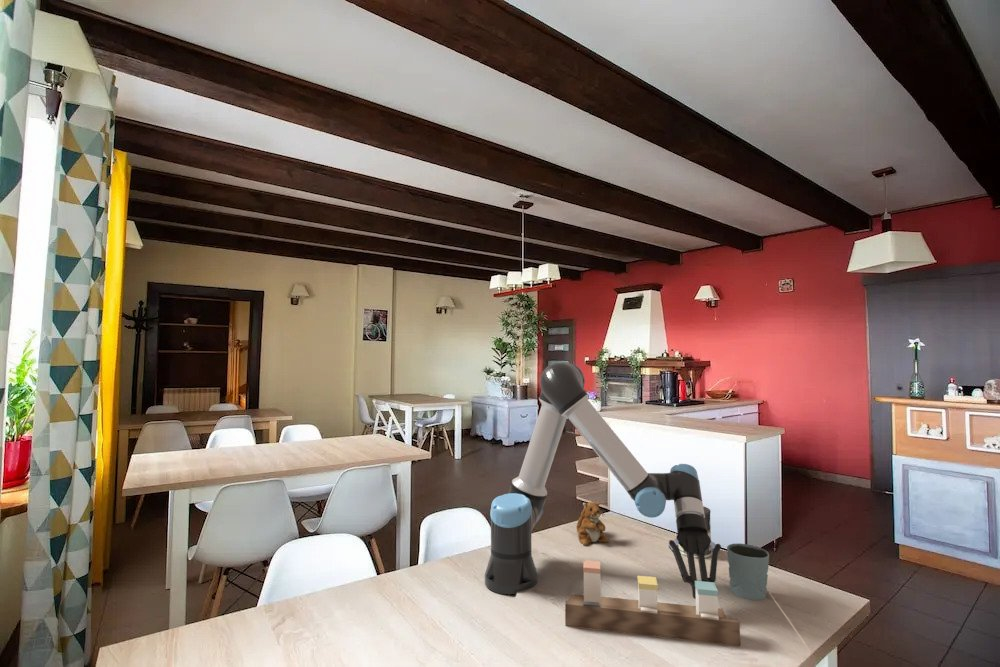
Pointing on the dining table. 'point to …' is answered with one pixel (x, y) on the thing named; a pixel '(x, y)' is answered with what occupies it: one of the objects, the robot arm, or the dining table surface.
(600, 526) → the stuffed squirrel
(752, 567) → the blue-grey embossed cup
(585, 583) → the button
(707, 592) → the button
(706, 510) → the coffee can
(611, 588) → the dining table surface
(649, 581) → the middle button
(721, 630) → the button console
